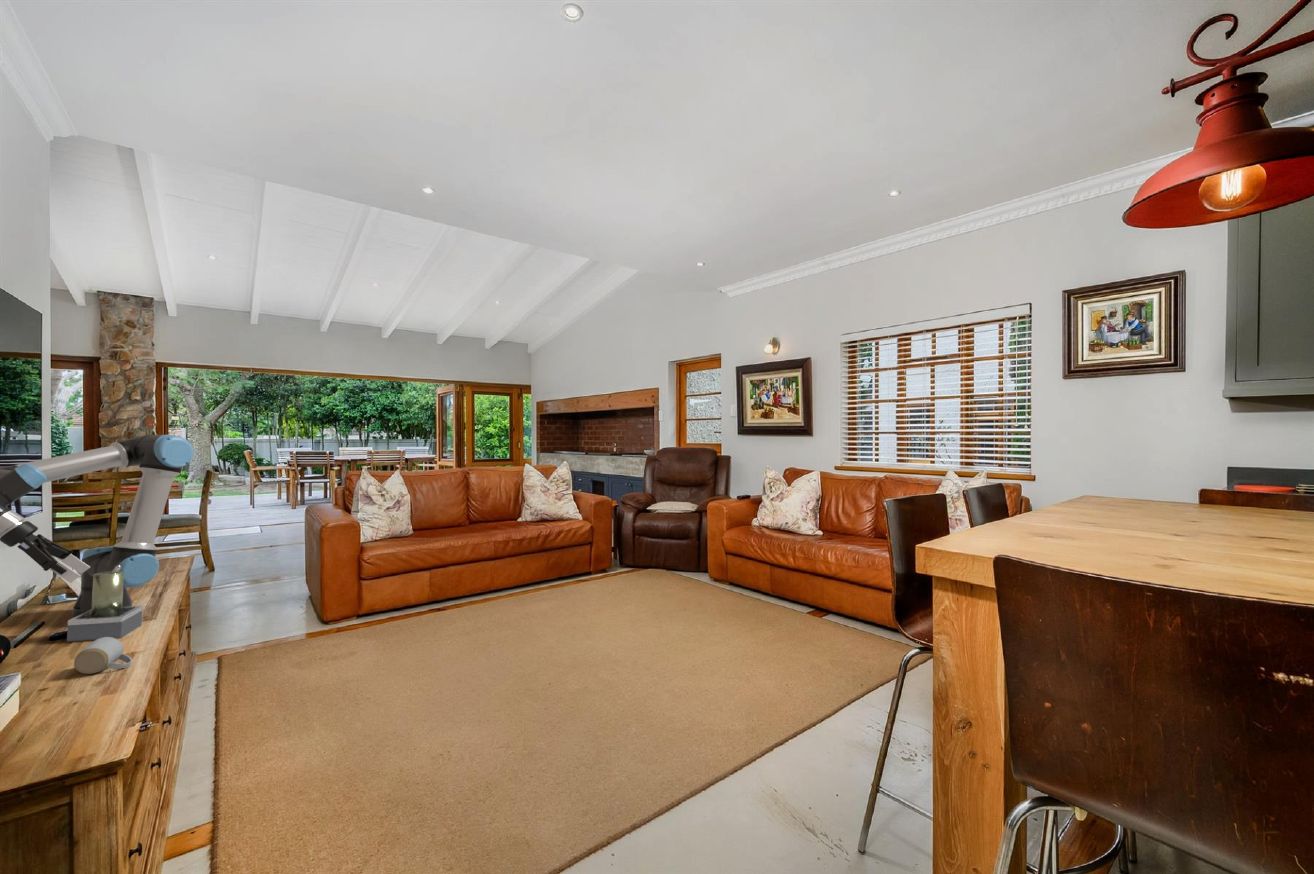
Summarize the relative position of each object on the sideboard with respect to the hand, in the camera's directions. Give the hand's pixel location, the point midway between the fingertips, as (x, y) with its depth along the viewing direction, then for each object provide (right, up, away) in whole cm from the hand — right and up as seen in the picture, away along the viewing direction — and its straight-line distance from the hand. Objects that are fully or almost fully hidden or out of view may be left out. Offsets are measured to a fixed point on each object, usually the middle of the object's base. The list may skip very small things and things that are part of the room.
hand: (81, 574), depth 173 cm
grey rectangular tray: (+3, -19, +5) cm, 20 cm away
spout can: (+4, -14, +4) cm, 15 cm away
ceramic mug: (+30, -20, -23) cm, 43 cm away
